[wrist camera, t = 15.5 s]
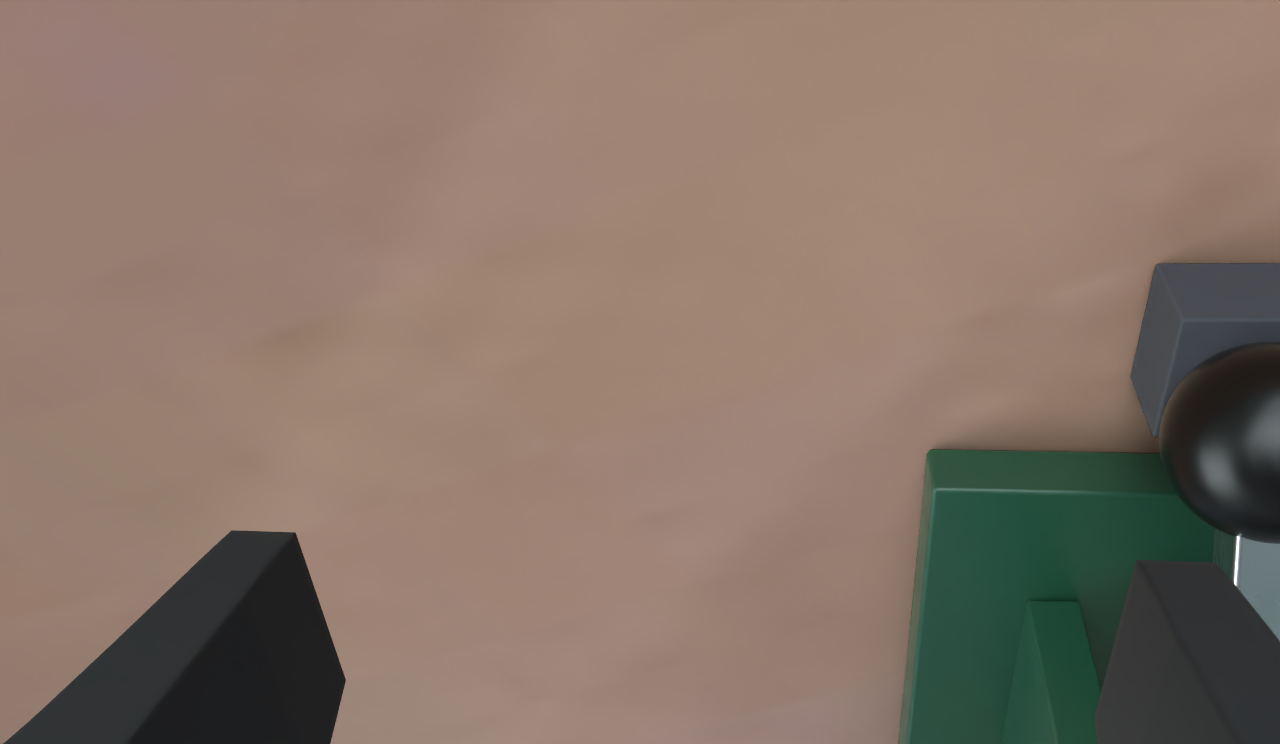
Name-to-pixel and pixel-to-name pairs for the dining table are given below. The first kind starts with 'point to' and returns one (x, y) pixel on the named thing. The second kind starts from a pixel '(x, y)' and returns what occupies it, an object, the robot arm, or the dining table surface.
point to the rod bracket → (1030, 588)
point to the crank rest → (1200, 323)
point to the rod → (1232, 464)
